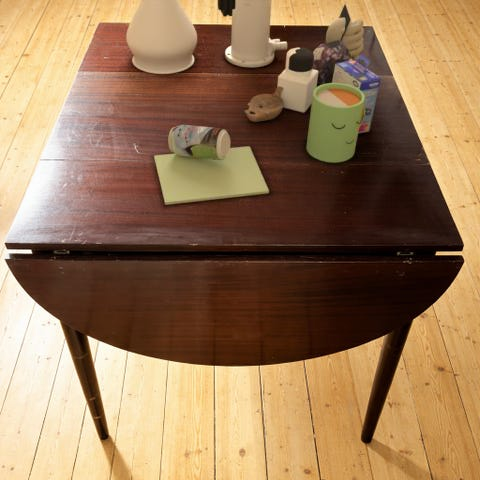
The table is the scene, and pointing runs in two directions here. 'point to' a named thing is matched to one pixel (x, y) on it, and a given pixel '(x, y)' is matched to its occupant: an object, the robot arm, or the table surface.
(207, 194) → the mat
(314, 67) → the mineral specimen
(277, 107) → the oil lamp
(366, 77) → the ink cartridge box
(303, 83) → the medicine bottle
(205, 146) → the beverage can
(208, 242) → the table surface
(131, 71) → the table surface
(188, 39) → the vase
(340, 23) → the decorative object
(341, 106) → the mug
